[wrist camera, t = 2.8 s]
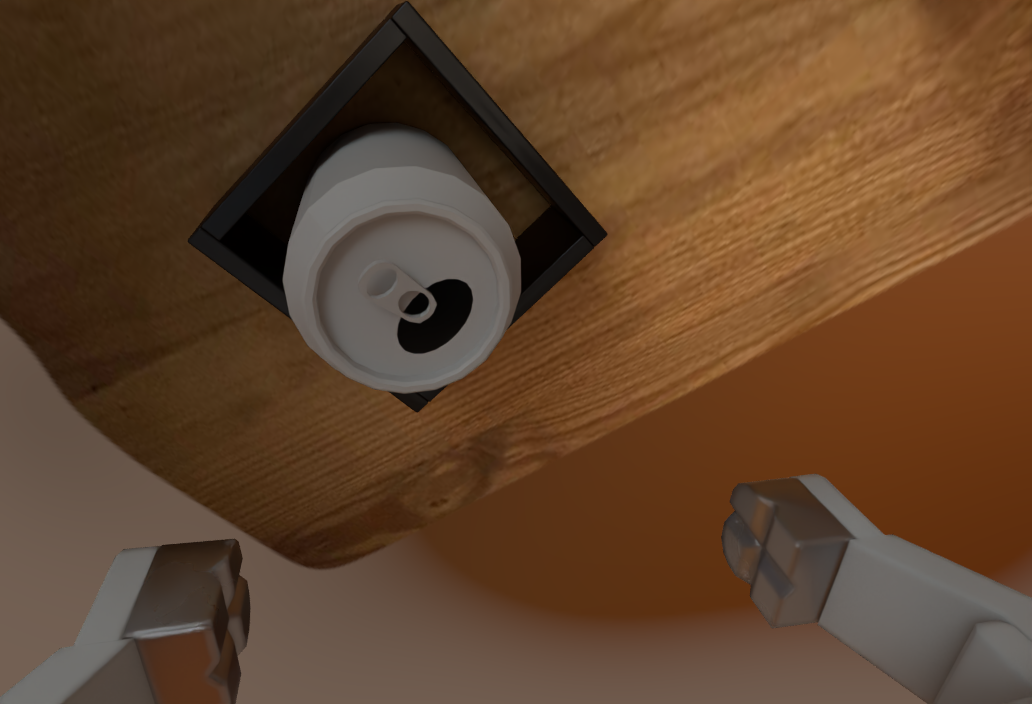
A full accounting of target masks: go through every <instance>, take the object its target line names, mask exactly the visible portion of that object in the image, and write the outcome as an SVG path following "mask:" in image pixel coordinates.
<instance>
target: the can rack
mask: <svg viewBox="0 0 1032 704" xmlns="http://www.w3.org/2000/svg"><path fill="white" fill-rule="evenodd" d="M404 41H405V42H406V44H407V45H408V46H409V47H410V48H411V49H412V50H413V51H414V52H415V54H416V55H417V56H418V57H419V58H420V59H421V60H422V61H423V63H424V64H425V65H426V66H427V67H428V68H429V69H430V70H431V71H432V73H433V74H434V75H435V76H436V77H437V78H438V79H439V80H440V82H441V83H442V84H443V85H444V86H445V87H446V88H447V89H448V91H449V92H450V93H451V94H452V95H453V96H454V97H455V98H456V99H457V101H458V102H459V103H460V104H461V105H462V106H463V107H464V108H465V110H466V111H467V112H468V113H469V114H470V115H471V116H472V117H473V118H474V120H475V121H476V122H477V123H478V124H479V125H480V126H481V127H482V129H483V130H484V131H485V132H486V133H487V134H488V135H489V136H490V137H491V139H492V140H493V141H494V142H495V143H496V144H497V145H498V146H499V148H500V149H501V150H502V151H503V152H504V153H505V154H506V155H507V157H508V158H509V159H510V160H511V161H512V162H513V163H514V164H515V165H516V167H517V168H518V169H519V170H520V171H521V172H522V173H523V174H524V176H525V177H526V178H527V179H528V180H529V181H530V182H531V183H532V184H533V186H534V187H535V188H536V189H537V190H538V191H539V192H540V193H541V195H542V196H543V197H544V198H545V199H546V200H547V201H548V202H549V203H550V205H551V206H550V207H549V208H548V209H547V210H546V211H545V212H544V213H543V214H542V215H541V216H540V217H539V218H538V219H537V220H536V221H535V222H534V223H533V224H532V225H531V226H530V227H529V228H528V229H527V230H526V231H525V232H523V233H522V234H521V235H520V236H519V237H518V238H517V239H516V240H515V244H516V246H517V249H518V252H519V255H520V258H521V294H520V297H519V300H518V303H517V306H516V309H515V312H514V316H513V319H512V322H511V324H510V325H509V327H510V326H511V325H512V324H513V323H515V322H516V321H517V320H518V319H519V318H520V317H521V316H522V315H523V314H524V313H525V312H526V311H527V310H528V309H529V308H531V307H532V306H533V305H534V304H535V303H536V302H537V301H538V300H539V299H540V298H541V297H542V296H543V295H544V294H545V293H547V292H548V291H549V290H550V289H551V288H552V287H553V286H554V285H555V284H556V283H557V282H558V281H559V280H560V279H561V278H563V277H564V276H565V275H566V274H567V273H568V272H569V271H570V270H571V269H572V268H573V267H574V266H575V265H576V264H578V263H579V262H580V261H581V260H582V259H583V258H584V257H585V256H586V255H587V254H588V253H589V252H590V251H591V250H592V249H594V247H595V246H596V245H597V244H598V243H600V242H601V241H602V240H603V239H604V238H605V237H606V236H607V235H608V234H607V232H606V231H605V230H604V229H603V228H602V226H601V225H600V224H599V223H598V222H597V221H596V219H595V218H594V217H593V216H592V215H591V214H590V212H589V211H588V210H587V209H586V208H585V207H584V205H583V204H582V203H581V202H580V201H579V200H578V198H577V197H576V196H575V195H574V194H573V193H572V191H571V190H570V189H569V188H568V187H567V186H566V184H565V183H564V182H563V181H562V180H561V179H560V177H559V176H558V175H557V174H556V173H555V172H554V170H553V169H552V168H551V167H550V166H549V165H548V163H547V162H546V161H545V160H544V159H543V158H542V157H541V155H540V154H539V153H538V152H537V151H536V150H535V148H534V147H533V146H532V145H531V144H530V143H529V141H528V140H527V139H526V138H525V137H524V136H523V134H522V133H521V132H520V131H519V130H518V129H517V127H516V126H515V125H514V124H513V123H512V122H511V120H510V119H509V118H508V117H507V116H506V115H505V113H504V112H503V111H502V110H501V109H500V108H499V106H498V105H497V104H496V103H495V102H494V101H493V99H492V98H491V97H490V96H489V95H488V94H487V92H486V91H485V90H484V89H483V88H482V87H481V85H480V84H479V83H478V82H477V81H476V80H475V78H474V77H473V76H472V75H471V74H470V73H469V72H468V70H467V69H466V68H465V67H464V66H463V65H462V63H461V62H460V61H459V60H458V59H457V58H456V56H455V55H454V54H453V53H452V52H451V51H450V49H449V48H448V47H447V46H446V45H445V44H444V42H443V41H442V40H441V39H440V38H439V37H438V35H437V34H436V33H435V32H434V31H433V30H432V28H431V27H430V26H429V25H428V24H427V23H426V21H425V20H424V19H423V18H422V17H421V16H420V14H419V13H418V12H417V11H416V10H415V9H414V7H413V6H412V5H411V4H410V3H409V2H408V1H405V2H403V3H401V4H398V5H396V7H395V8H394V9H393V10H392V11H391V12H390V13H389V14H388V15H387V16H386V18H385V19H384V20H383V21H382V22H381V23H380V24H379V25H378V26H377V27H376V28H375V30H374V31H373V32H372V33H371V34H370V35H369V36H368V37H367V38H366V39H365V41H364V42H363V43H362V44H361V45H360V46H359V47H358V48H357V49H356V50H355V52H354V53H353V54H352V55H351V56H350V57H349V58H348V59H347V60H346V61H345V63H344V64H343V65H342V66H341V67H340V68H339V69H338V70H337V71H336V72H335V74H334V75H333V76H332V77H331V78H330V79H329V80H328V81H327V82H326V83H325V85H324V86H323V87H322V88H321V89H320V90H319V91H318V92H317V93H316V94H315V95H314V97H313V98H312V99H311V100H310V101H309V102H308V103H307V104H306V105H305V106H304V108H303V109H302V110H301V111H300V112H299V113H298V114H297V115H296V116H295V117H294V119H293V120H292V121H291V122H290V123H289V124H288V125H287V126H286V127H285V128H284V130H283V131H282V132H281V133H280V134H279V135H278V136H277V137H276V138H275V139H274V141H273V142H272V143H271V144H270V145H269V146H268V147H267V148H266V149H265V150H264V152H263V153H262V154H261V155H260V156H259V157H258V158H257V159H256V160H255V161H254V163H253V164H252V165H251V166H250V167H249V168H248V169H247V170H246V171H245V172H244V173H243V175H242V176H241V177H240V178H239V179H238V180H237V181H236V182H235V183H234V184H233V186H232V187H231V188H230V189H229V190H228V191H227V192H226V193H225V195H224V196H223V197H222V198H221V199H220V200H219V201H218V202H217V203H216V204H215V205H214V207H213V208H212V209H211V210H210V212H209V213H208V214H207V216H206V217H205V218H204V219H203V221H202V222H201V223H200V225H199V226H198V227H197V229H196V230H195V231H194V232H193V234H192V235H191V236H190V238H189V239H188V243H189V244H191V245H192V246H193V247H195V248H196V249H198V250H199V251H200V252H202V253H203V254H204V255H206V256H207V257H208V258H210V259H211V260H212V261H214V262H215V263H216V264H218V265H219V266H220V267H222V268H223V269H224V270H226V271H227V272H228V273H230V274H231V275H232V276H234V277H235V278H236V279H238V280H239V281H241V282H242V283H243V284H245V285H246V286H247V287H249V288H250V289H251V290H253V291H254V292H255V293H257V294H258V295H259V296H261V297H262V298H263V299H265V300H266V301H267V302H269V303H270V304H271V305H273V306H274V307H275V308H277V309H278V310H279V311H281V312H282V313H284V314H285V315H286V316H288V317H289V318H290V319H292V318H291V316H290V314H289V309H288V304H287V299H286V294H285V289H284V284H283V274H284V267H285V261H286V255H287V248H288V246H287V245H286V244H284V243H283V242H282V241H281V240H279V239H278V238H277V237H276V236H274V235H273V234H272V233H271V232H269V231H268V230H267V229H266V228H265V227H263V226H262V225H261V224H260V223H258V222H257V221H256V220H255V219H253V218H252V217H251V216H250V215H248V214H247V213H246V212H247V211H248V210H249V209H250V208H251V207H252V205H253V204H254V203H255V202H256V201H257V200H258V199H259V198H260V197H261V196H262V195H263V194H264V192H265V191H266V190H267V189H268V188H269V187H270V186H271V185H272V184H273V183H274V182H275V181H276V179H277V178H278V177H279V176H280V175H281V174H282V173H283V172H284V171H285V170H286V169H287V168H288V166H289V165H290V164H291V163H292V162H293V161H294V160H295V159H296V158H297V157H298V156H299V155H300V153H301V152H302V151H303V150H304V149H305V148H306V147H307V146H308V145H309V144H310V143H311V142H312V141H313V139H314V138H315V137H316V136H317V135H318V134H319V133H320V132H321V131H322V130H323V129H324V128H325V126H326V125H327V124H328V123H329V122H330V121H331V120H332V119H333V118H334V117H335V116H336V115H337V113H338V112H339V111H340V110H341V109H342V108H343V107H344V106H345V105H346V104H347V103H348V102H349V100H350V99H351V98H352V97H353V96H354V95H355V94H356V93H357V92H358V91H359V90H360V89H361V87H362V86H363V85H364V84H365V83H366V82H367V81H368V80H369V79H370V78H371V77H372V76H373V75H374V73H375V72H376V71H377V70H378V69H379V68H380V67H381V66H382V65H383V64H384V63H385V62H386V60H387V59H388V58H389V57H390V56H391V55H392V54H393V53H394V52H395V51H396V50H397V49H398V47H399V46H400V45H401V44H402V43H403V42H404ZM593 246H594V247H593ZM509 327H508V328H509ZM508 328H507V329H508ZM446 386H447V385H446ZM446 386H443V387H441V388H438V389H436V390H430V391H422V392H414V393H406V394H403V393H396V392H390V393H391V394H392V395H394V396H395V397H396V398H398V399H399V400H400V401H402V402H403V403H404V404H406V405H407V406H408V407H410V408H411V409H412V410H414V411H415V412H419V411H420V410H421V409H422V408H423V407H424V406H425V405H426V404H427V403H428V402H430V401H431V400H432V399H433V398H434V397H436V396H437V395H438V394H439V393H440V392H441V391H442V390H443V389H444V388H445V387H446ZM388 392H389V391H388Z"/></svg>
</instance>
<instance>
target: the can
mask: <svg viewBox="0 0 1032 704" xmlns="http://www.w3.org/2000/svg"><path fill="white" fill-rule="evenodd" d="M283 284H284V289H285V294H286V299H287V304H288V309H289V314H290V316H291V318H292V320H293V322H294V323H295V325H296V327H297V328H298V330H299V332H300V333H301V335H302V337H303V338H304V340H305V342H306V343H307V345H308V346H309V347H310V348H311V349H312V350H313V351H315V352H316V353H317V354H318V355H319V356H320V357H321V358H323V359H324V360H325V361H326V362H327V363H328V364H329V365H331V366H332V367H333V368H334V369H336V370H338V371H340V372H341V373H342V374H343V375H344V376H346V377H348V378H350V379H352V380H354V381H357V382H359V383H361V384H363V385H366V386H368V387H370V388H372V389H375V390H382V391H389V392H396V393H403V394H406V393H414V392H422V391H430V390H436V389H438V388H441V387H443V386H446V385H448V384H450V383H453V382H455V381H458V380H460V379H462V378H464V377H465V376H467V375H468V374H469V373H470V372H472V371H473V370H474V369H475V368H477V367H478V366H479V365H480V364H482V363H483V362H484V361H486V360H487V358H488V357H489V356H490V354H491V353H492V351H493V350H494V348H495V347H496V346H497V344H498V343H499V341H500V340H501V338H502V337H503V336H504V333H505V331H506V330H507V328H508V327H509V325H510V324H511V322H512V319H513V316H514V312H515V309H516V306H517V303H518V300H519V297H520V294H521V258H520V255H519V252H518V249H517V246H516V244H515V241H514V238H513V235H512V232H511V229H510V227H509V225H508V223H507V222H506V221H505V220H504V218H503V217H502V216H501V214H500V213H499V212H498V210H497V209H496V208H495V207H494V205H493V204H492V203H491V201H490V200H489V199H488V197H487V196H486V195H485V194H484V192H483V191H482V190H481V188H480V187H479V186H478V184H477V183H476V182H475V181H474V179H473V178H472V177H471V175H470V174H469V173H468V171H467V170H466V169H465V168H464V166H463V165H462V164H461V162H460V161H459V160H458V159H457V157H456V156H455V155H454V154H453V152H452V151H451V150H450V149H449V147H448V146H447V145H445V144H444V143H442V142H441V141H439V140H438V139H436V138H435V137H434V136H432V135H431V134H429V133H428V132H426V131H425V130H421V129H418V128H414V127H411V126H407V125H404V124H400V123H377V124H367V125H365V126H362V127H360V128H357V129H355V130H352V131H350V132H347V133H345V134H342V135H341V136H340V137H339V138H338V139H337V140H335V141H334V142H333V143H332V144H331V145H330V146H329V147H328V148H326V149H325V150H324V151H323V152H322V153H321V155H320V157H319V158H318V160H317V162H316V164H315V166H314V168H313V169H312V171H311V173H310V175H309V177H308V180H307V183H306V187H305V190H304V193H303V196H302V200H301V203H300V206H299V210H298V213H297V216H296V219H295V223H294V226H293V229H292V233H291V236H290V239H289V242H288V248H287V255H286V261H285V267H284V274H283Z"/></svg>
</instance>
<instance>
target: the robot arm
mask: <svg viewBox="0 0 1032 704" xmlns="http://www.w3.org/2000/svg"><path fill="white" fill-rule="evenodd" d="M730 503H731V505H732V506H733V508H734V510H735V511H734V512H733V513H732V514H731V515H730V516H729V517H728V519H727V520H726V521H725V522H724V526H723V532H722V536H721V538H722V545H723V552H724V555H725V557H726V560H727V562H728V565H729V566H730V568H731V569H732V571H733V572H734V574H735V575H736V576H737V577H739V578H740V579H742V580H744V581H745V582H747V583H749V584H751V589H750V597H751V599H752V600H753V602H754V603H755V605H756V606H757V608H758V609H759V610H760V612H761V613H762V615H763V616H764V618H765V619H766V621H767V622H768V623H769V625H770V626H771V628H779V627H786V626H794V625H801V624H808V623H815V622H818V625H819V626H820V627H821V628H823V629H824V630H826V631H827V632H828V633H830V634H831V635H833V636H834V637H835V638H837V639H838V640H840V641H841V642H842V643H844V644H845V645H846V646H848V647H849V648H851V649H852V650H853V651H855V652H856V653H858V654H859V655H860V656H862V657H863V658H865V659H866V660H867V661H869V662H870V663H872V664H873V665H874V666H876V667H877V668H879V669H880V670H881V671H883V672H884V673H885V674H887V675H888V676H890V677H891V678H892V679H894V680H895V681H897V682H898V683H899V684H901V685H902V686H904V687H905V688H906V689H908V690H909V691H911V692H912V693H913V694H915V695H916V696H918V697H919V698H920V699H922V700H923V701H925V702H926V703H927V704H1032V598H1031V597H1029V596H1026V595H1025V594H1022V593H1020V592H1018V591H1016V590H1013V589H1011V588H1009V587H1007V586H1005V585H1003V584H1000V583H998V582H996V581H994V580H992V579H989V578H987V577H985V576H983V575H981V574H978V573H976V572H974V571H972V570H969V569H967V568H965V567H963V566H961V565H959V564H956V563H954V562H952V561H950V560H947V559H945V558H943V557H941V556H938V555H937V554H934V553H932V552H930V551H928V550H926V549H923V548H921V547H919V546H917V545H915V544H912V543H910V542H908V541H906V540H903V539H901V538H899V537H897V536H895V535H884V534H883V533H882V532H881V531H879V529H878V528H877V527H876V526H875V525H874V524H872V523H871V522H870V521H869V520H868V519H867V518H866V517H865V516H864V515H863V514H862V513H861V512H860V511H859V510H858V509H857V508H856V507H855V506H854V505H853V504H852V503H851V502H849V500H847V499H846V498H845V497H844V496H843V495H842V494H841V493H840V492H839V491H838V490H837V489H836V488H835V487H834V486H833V485H832V484H831V483H830V482H829V481H828V480H827V479H826V478H824V477H822V476H820V475H818V474H810V475H801V476H794V477H789V478H781V479H773V480H764V481H756V482H747V483H739V484H738V485H737V486H736V487H735V488H734V489H733V491H732V495H731V499H730ZM241 563H242V554H241V550H240V546H239V542H238V541H237V540H236V539H226V540H215V541H203V542H193V543H180V544H169V545H162V546H155V547H143V548H132V549H123V550H122V551H121V552H120V553H119V554H118V555H117V556H116V557H115V558H114V560H113V563H112V565H111V567H110V569H109V571H108V573H107V575H106V578H105V580H104V582H103V584H102V586H101V588H100V590H99V592H98V595H97V597H96V599H95V601H94V603H93V605H92V607H91V610H90V611H89V614H88V616H87V618H86V620H85V622H84V624H83V627H82V628H81V631H80V633H79V635H78V637H77V639H76V641H75V643H74V646H72V647H65V648H60V649H59V650H58V651H56V652H55V653H54V654H53V655H51V656H50V657H49V658H48V659H47V660H45V661H44V662H43V663H42V664H40V665H39V666H38V667H37V668H36V669H34V670H33V671H32V672H31V673H29V674H28V675H27V676H26V677H24V678H23V679H22V680H21V681H19V682H18V683H17V684H16V685H15V686H13V687H12V688H11V689H10V690H8V691H7V692H6V693H5V694H3V695H2V696H1V697H0V704H235V703H236V698H237V693H238V687H239V682H240V677H241V671H240V666H239V662H238V657H237V656H238V655H239V654H240V653H241V652H242V650H243V649H244V648H245V647H246V645H247V639H248V633H249V624H250V597H249V589H248V584H247V580H245V579H244V578H243V577H241V576H240V575H239V572H240V568H241Z"/></svg>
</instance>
